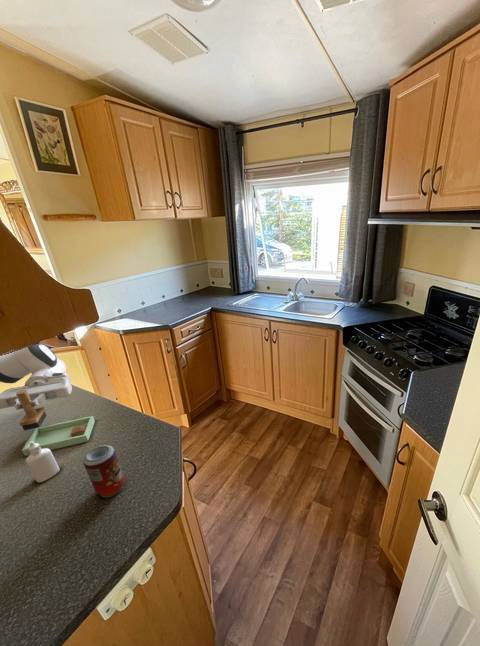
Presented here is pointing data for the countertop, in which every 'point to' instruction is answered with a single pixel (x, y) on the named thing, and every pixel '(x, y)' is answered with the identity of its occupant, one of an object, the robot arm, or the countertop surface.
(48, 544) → the countertop surface
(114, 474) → the soda can
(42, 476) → the eye dropper bottle
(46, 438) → the tray
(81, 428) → the wooden block
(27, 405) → the brush
